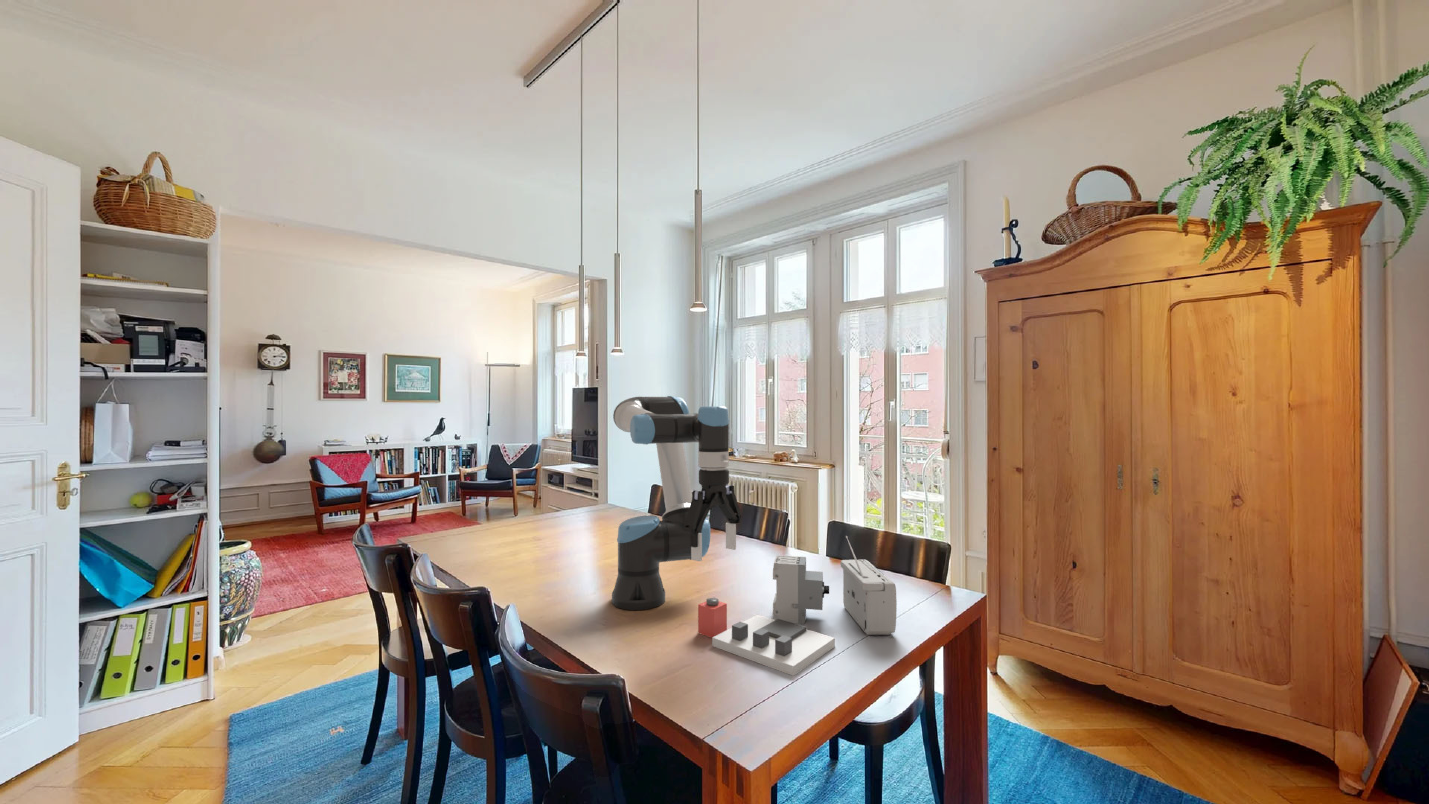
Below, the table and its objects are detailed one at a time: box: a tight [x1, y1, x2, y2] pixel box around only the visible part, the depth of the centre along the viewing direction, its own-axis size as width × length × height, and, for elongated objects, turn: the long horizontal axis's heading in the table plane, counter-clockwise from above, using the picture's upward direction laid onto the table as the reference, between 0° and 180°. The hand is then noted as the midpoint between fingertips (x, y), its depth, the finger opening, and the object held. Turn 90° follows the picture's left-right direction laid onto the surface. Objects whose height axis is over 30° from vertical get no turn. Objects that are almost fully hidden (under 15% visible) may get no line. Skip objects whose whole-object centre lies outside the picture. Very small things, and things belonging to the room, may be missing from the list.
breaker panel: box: [711, 614, 836, 676], centre depth 131 cm, size 22×18×5 cm
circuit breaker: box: [772, 555, 830, 624], centre depth 148 cm, size 8×14×15 cm, turn 78°
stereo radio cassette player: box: [840, 535, 898, 636], centre depth 146 cm, size 21×8×20 cm, turn 4°
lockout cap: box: [697, 597, 728, 638], centre depth 139 cm, size 5×5×8 cm
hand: (714, 554), depth 140 cm, fingers open, 13 cm apart
